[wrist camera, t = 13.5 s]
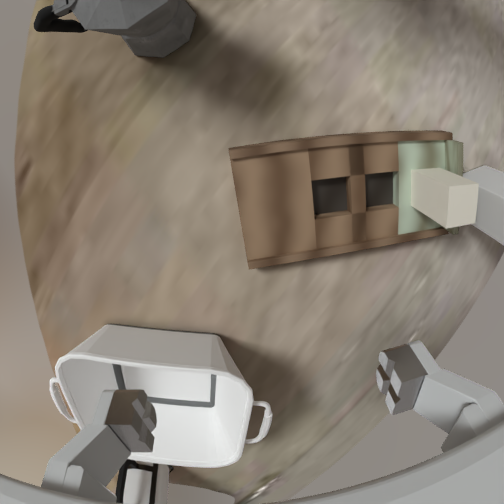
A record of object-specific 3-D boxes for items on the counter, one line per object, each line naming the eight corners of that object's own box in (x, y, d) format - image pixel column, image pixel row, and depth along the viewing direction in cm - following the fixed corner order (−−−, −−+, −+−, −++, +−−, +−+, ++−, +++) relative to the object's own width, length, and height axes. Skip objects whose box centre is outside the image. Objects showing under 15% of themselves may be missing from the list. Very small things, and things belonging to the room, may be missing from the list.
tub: (275, 310, 47) (289, 372, 35) (253, 415, 58) (259, 468, 46) (59, 291, 43) (23, 342, 31) (90, 399, 54) (75, 448, 42)
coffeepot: (207, -19, 27) (195, -98, 10) (219, 45, 31) (214, -8, 14) (87, 17, 27) (8, -23, 10) (96, 80, 31) (10, 69, 15)
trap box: (247, 260, 43) (250, 279, 38) (228, 148, 36) (228, 153, 32) (439, 227, 43) (457, 240, 38) (441, 130, 36) (463, 135, 32)
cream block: (410, 205, 39) (446, 228, 31) (411, 169, 37) (449, 186, 29) (438, 201, 39) (475, 223, 31) (439, 167, 37) (478, 183, 29)
